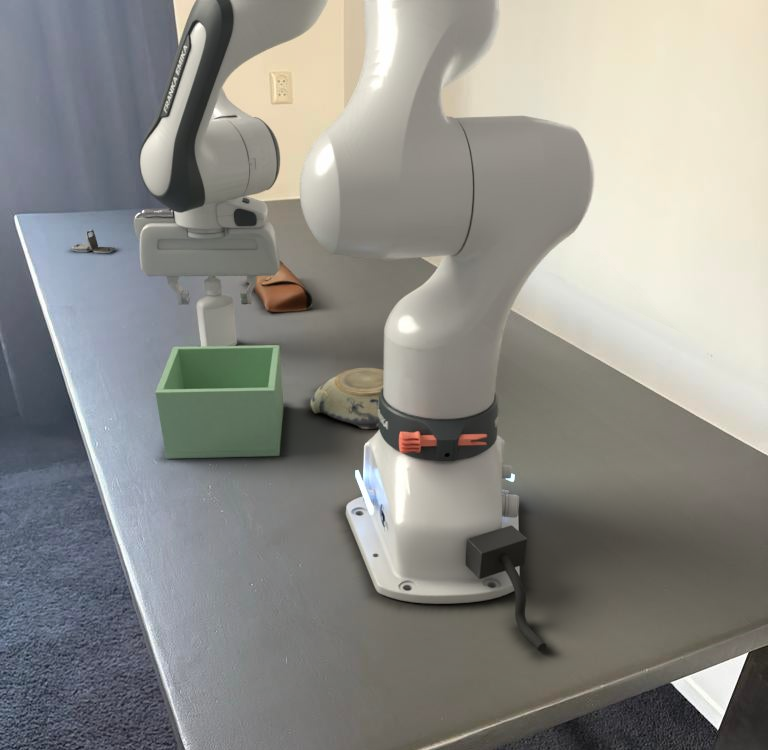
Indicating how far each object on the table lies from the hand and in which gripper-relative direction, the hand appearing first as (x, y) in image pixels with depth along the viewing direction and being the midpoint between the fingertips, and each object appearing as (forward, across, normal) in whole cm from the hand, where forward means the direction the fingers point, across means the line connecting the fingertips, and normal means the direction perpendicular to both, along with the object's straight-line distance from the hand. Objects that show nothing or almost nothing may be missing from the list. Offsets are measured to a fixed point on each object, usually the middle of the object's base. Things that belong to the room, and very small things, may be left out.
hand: (215, 303), depth 121 cm
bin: (+7, +4, -28) cm, 29 cm away
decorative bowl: (+7, +22, -21) cm, 31 cm away
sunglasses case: (+7, +8, +24) cm, 26 cm away
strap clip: (+8, -32, +53) cm, 63 cm away
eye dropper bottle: (+7, 0, 0) cm, 7 cm away
